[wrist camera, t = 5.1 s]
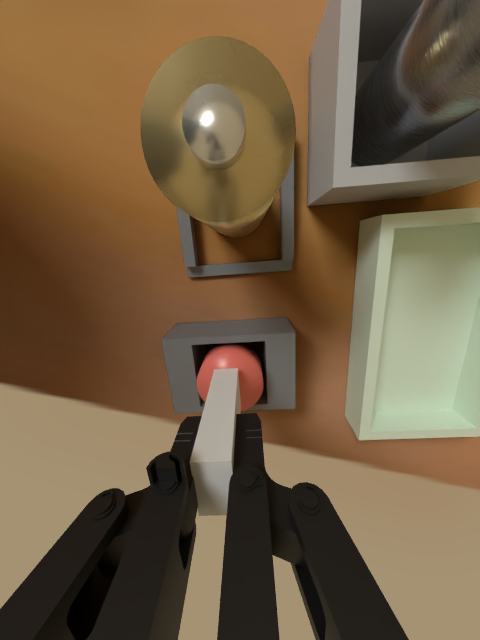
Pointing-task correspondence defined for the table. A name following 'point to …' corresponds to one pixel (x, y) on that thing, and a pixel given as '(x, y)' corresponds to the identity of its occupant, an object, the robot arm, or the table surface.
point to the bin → (339, 103)
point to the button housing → (188, 341)
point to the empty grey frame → (245, 267)
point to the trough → (416, 327)
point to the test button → (233, 358)
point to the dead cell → (420, 82)
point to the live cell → (219, 132)
